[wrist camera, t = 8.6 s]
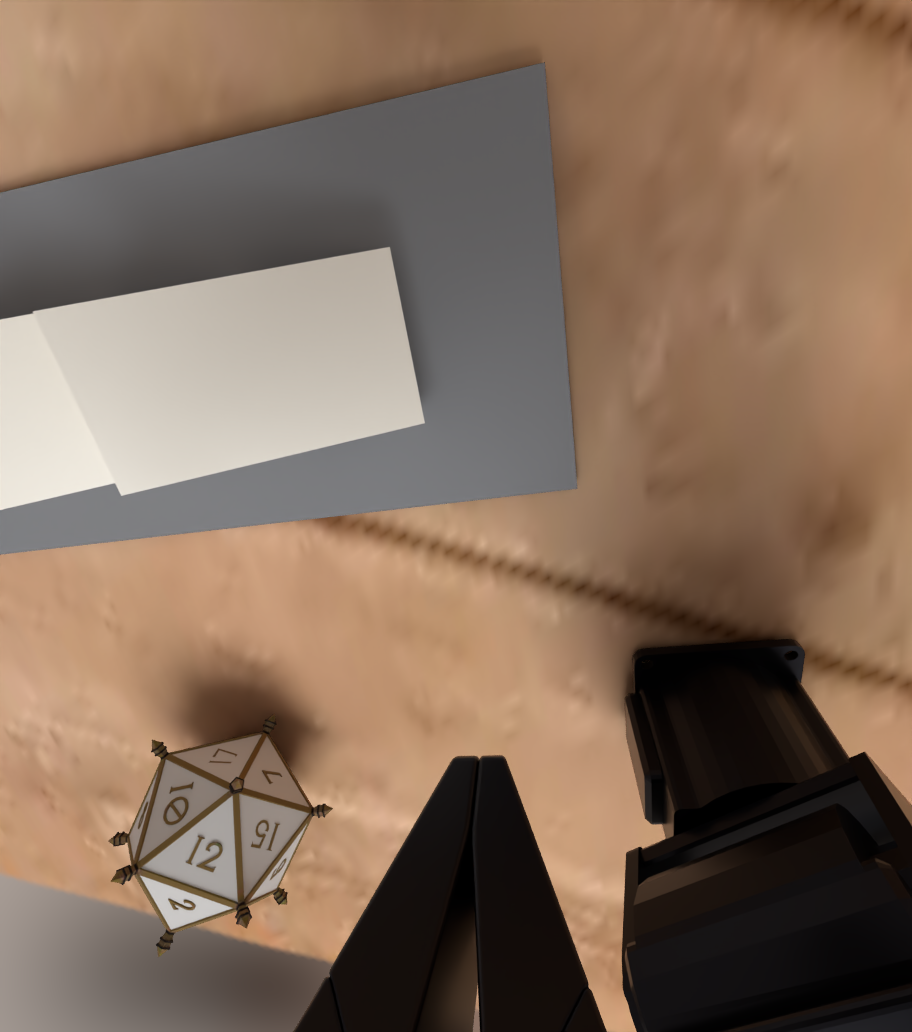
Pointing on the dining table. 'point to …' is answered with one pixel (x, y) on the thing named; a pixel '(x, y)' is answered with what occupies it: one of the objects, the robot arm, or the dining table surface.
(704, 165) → the dining table surface
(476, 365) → the slate mat
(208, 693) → the dining table surface
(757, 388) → the dining table surface
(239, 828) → the game die
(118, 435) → the domino
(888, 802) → the robot arm
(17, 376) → the domino
